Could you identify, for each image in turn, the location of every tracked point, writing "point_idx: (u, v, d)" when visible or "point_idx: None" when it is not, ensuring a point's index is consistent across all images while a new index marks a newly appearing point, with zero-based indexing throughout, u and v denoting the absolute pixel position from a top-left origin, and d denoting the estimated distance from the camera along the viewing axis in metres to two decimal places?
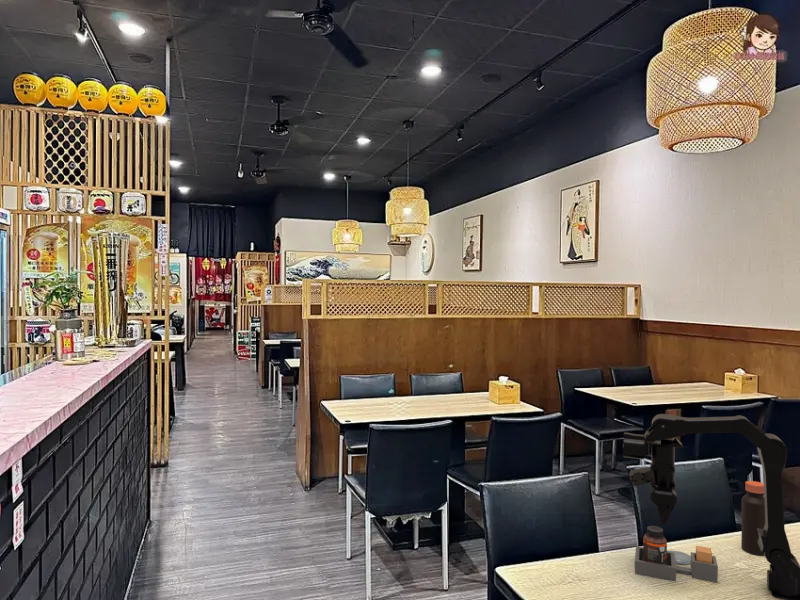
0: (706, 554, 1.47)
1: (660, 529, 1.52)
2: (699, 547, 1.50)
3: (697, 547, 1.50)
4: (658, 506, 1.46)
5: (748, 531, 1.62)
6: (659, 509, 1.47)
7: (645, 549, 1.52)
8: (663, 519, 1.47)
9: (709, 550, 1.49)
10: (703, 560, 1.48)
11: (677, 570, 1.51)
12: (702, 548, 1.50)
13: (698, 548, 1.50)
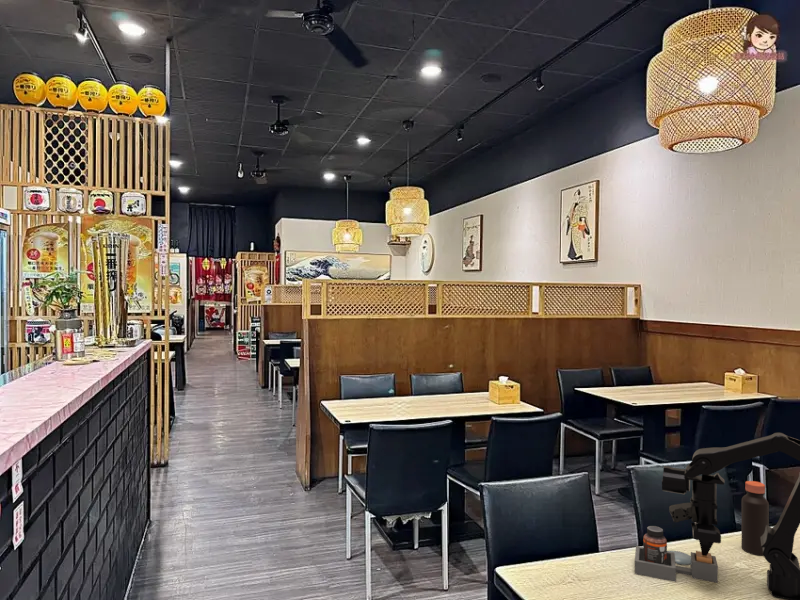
0: (706, 560, 1.47)
1: (660, 529, 1.52)
2: (699, 552, 1.50)
3: (697, 552, 1.50)
4: None
5: (748, 531, 1.62)
6: (701, 540, 1.48)
7: (645, 549, 1.52)
8: (704, 550, 1.48)
9: (709, 555, 1.49)
10: None
11: (677, 570, 1.51)
12: None
13: (698, 554, 1.50)
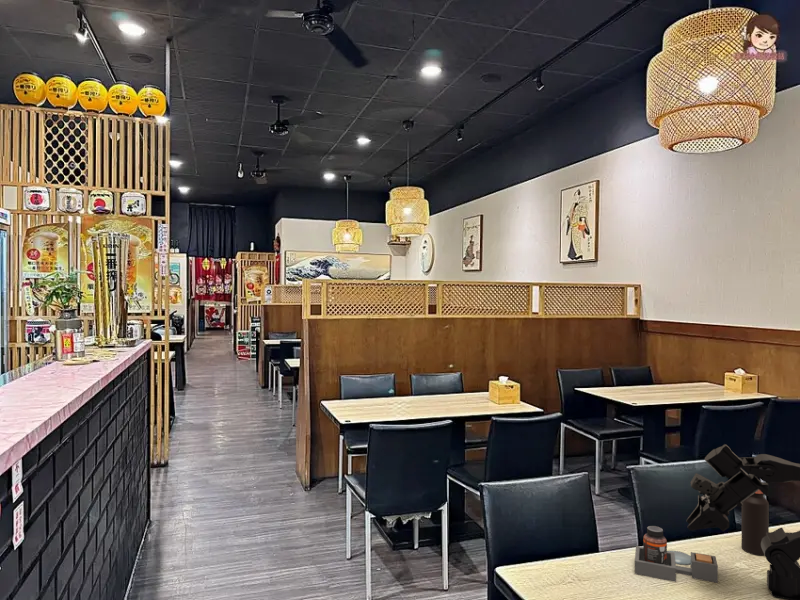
0: (706, 562, 1.47)
1: (660, 529, 1.52)
2: (699, 555, 1.50)
3: (697, 555, 1.50)
4: (701, 516, 1.44)
5: (748, 531, 1.62)
6: (699, 518, 1.45)
7: (645, 549, 1.52)
8: (693, 526, 1.46)
9: (709, 558, 1.49)
10: None
11: (677, 570, 1.51)
12: (702, 556, 1.50)
13: (698, 556, 1.50)
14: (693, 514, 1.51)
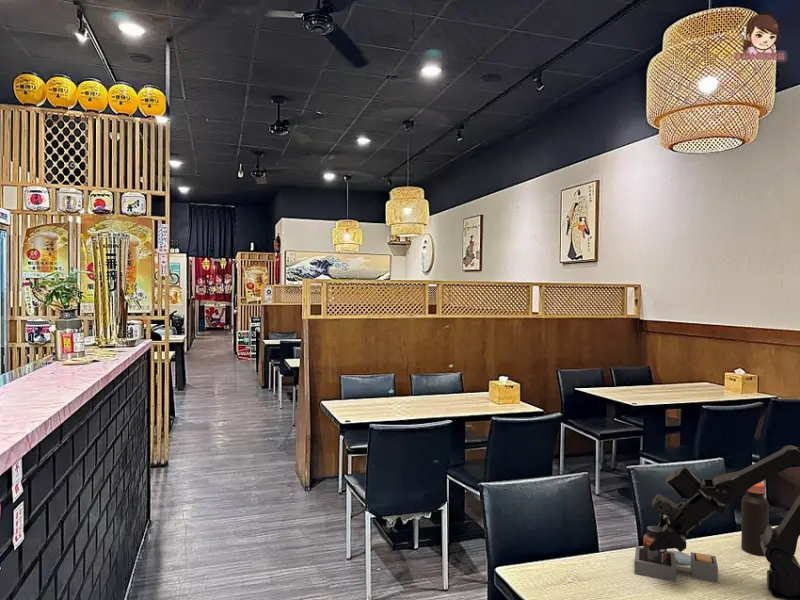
0: (706, 562, 1.47)
1: None
2: (699, 555, 1.50)
3: (697, 555, 1.50)
4: (661, 537, 1.47)
5: (748, 531, 1.62)
6: (659, 539, 1.48)
7: (645, 549, 1.52)
8: (653, 547, 1.49)
9: (709, 558, 1.49)
10: None
11: (677, 570, 1.51)
12: (702, 556, 1.50)
13: (698, 556, 1.50)
14: None
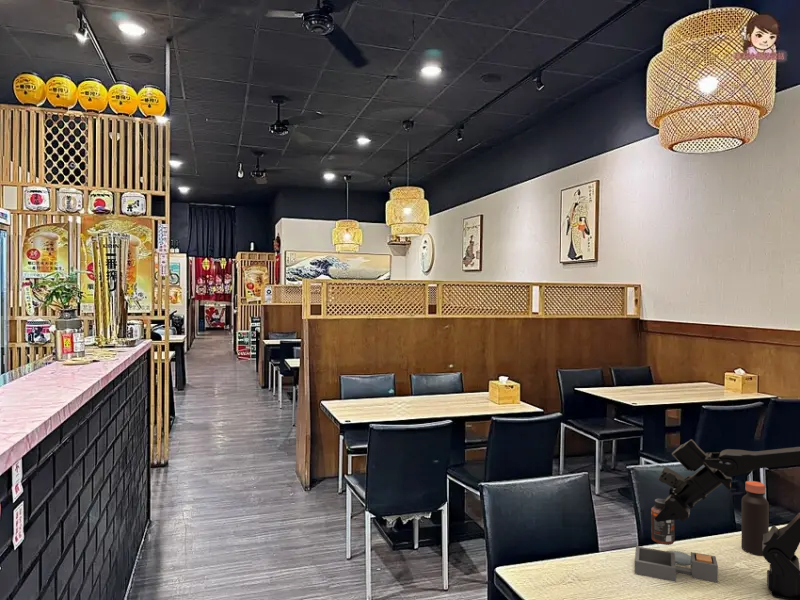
0: (706, 562, 1.47)
1: None
2: (699, 555, 1.50)
3: (697, 555, 1.50)
4: (665, 508, 1.50)
5: (748, 531, 1.62)
6: (664, 510, 1.51)
7: (652, 521, 1.55)
8: (659, 518, 1.52)
9: (709, 558, 1.49)
10: None
11: (677, 570, 1.51)
12: (702, 556, 1.50)
13: (698, 556, 1.50)
14: None
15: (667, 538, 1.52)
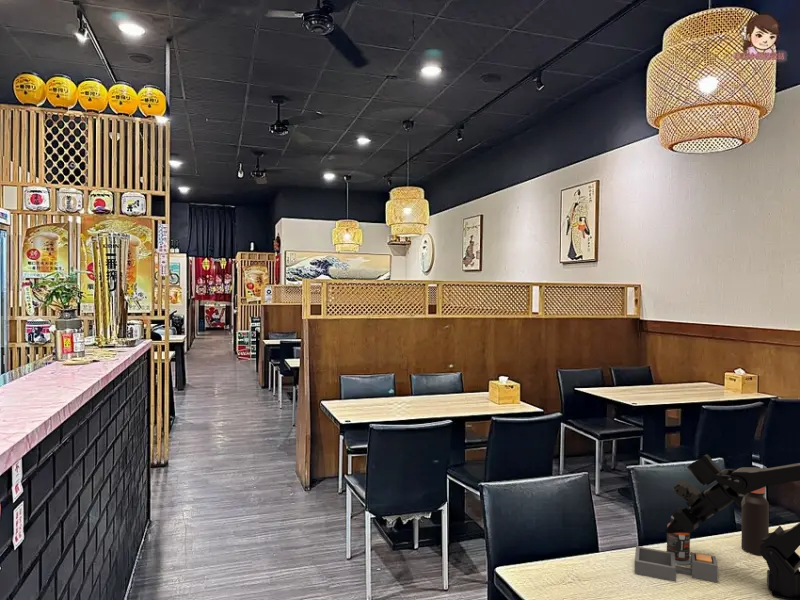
0: (706, 562, 1.47)
1: None
2: (699, 555, 1.50)
3: (697, 555, 1.50)
4: (674, 520, 1.54)
5: (748, 531, 1.62)
6: (673, 522, 1.54)
7: (667, 536, 1.60)
8: (669, 529, 1.56)
9: (709, 558, 1.49)
10: None
11: (677, 570, 1.51)
12: (702, 556, 1.50)
13: (698, 556, 1.50)
14: None
15: (680, 554, 1.56)
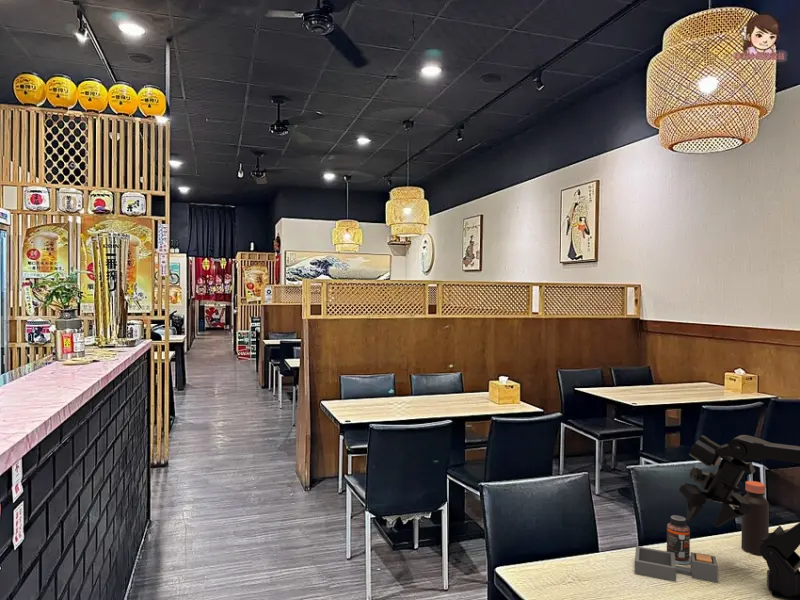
0: (706, 562, 1.47)
1: (683, 519, 1.58)
2: (699, 555, 1.50)
3: (697, 555, 1.50)
4: (687, 501, 1.53)
5: (748, 531, 1.62)
6: (687, 504, 1.53)
7: (667, 536, 1.60)
8: (688, 515, 1.53)
9: (709, 558, 1.49)
10: None
11: (677, 570, 1.51)
12: (702, 556, 1.50)
13: (698, 556, 1.50)
14: (718, 516, 1.55)
15: (680, 554, 1.56)
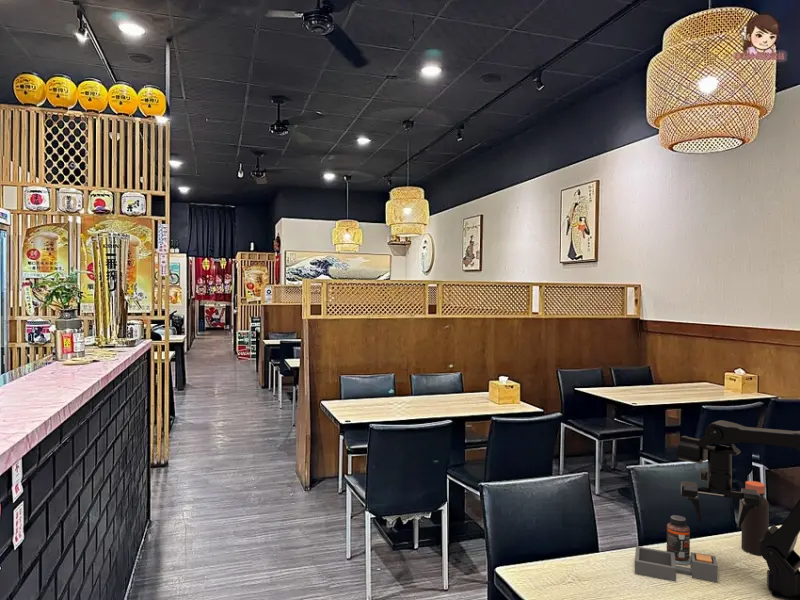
0: (706, 562, 1.47)
1: (683, 519, 1.58)
2: (699, 555, 1.50)
3: (697, 555, 1.50)
4: None
5: (748, 531, 1.62)
6: None
7: (667, 536, 1.60)
8: (697, 515, 1.53)
9: (709, 558, 1.49)
10: None
11: (677, 570, 1.51)
12: (702, 556, 1.50)
13: (698, 556, 1.50)
14: (738, 516, 1.50)
15: (680, 554, 1.56)
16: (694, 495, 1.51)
